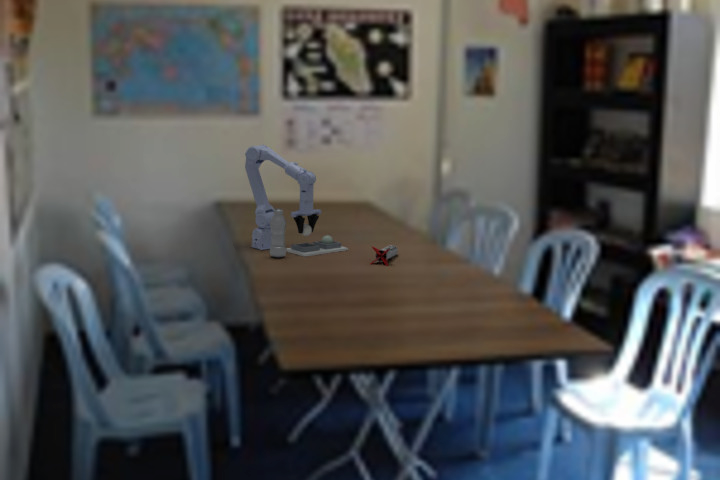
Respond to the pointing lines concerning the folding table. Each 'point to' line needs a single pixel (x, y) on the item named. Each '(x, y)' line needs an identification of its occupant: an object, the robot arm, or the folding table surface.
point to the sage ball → (327, 240)
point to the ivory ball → (306, 230)
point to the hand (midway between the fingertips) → (305, 232)
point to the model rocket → (385, 253)
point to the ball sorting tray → (315, 248)
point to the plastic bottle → (278, 234)
